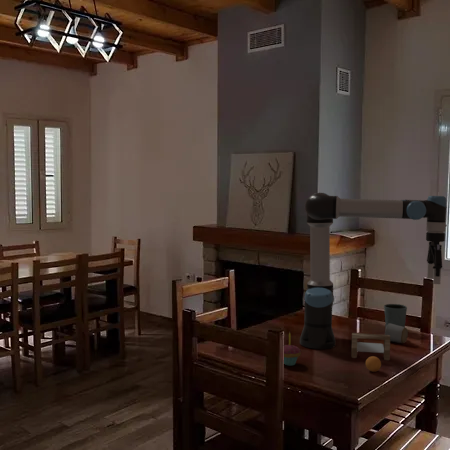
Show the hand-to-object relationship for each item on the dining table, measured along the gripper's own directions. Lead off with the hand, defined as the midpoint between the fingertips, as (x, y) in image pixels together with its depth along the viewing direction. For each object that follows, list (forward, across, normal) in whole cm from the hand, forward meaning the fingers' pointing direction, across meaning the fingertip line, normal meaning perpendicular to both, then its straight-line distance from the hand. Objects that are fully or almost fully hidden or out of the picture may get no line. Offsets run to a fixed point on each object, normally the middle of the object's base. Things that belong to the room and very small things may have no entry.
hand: (433, 281), depth 233 cm
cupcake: (+28, -40, +58) cm, 76 cm away
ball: (+25, -42, +28) cm, 56 cm away
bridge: (+28, -26, +27) cm, 47 cm away
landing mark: (+28, -12, +27) cm, 40 cm away
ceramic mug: (+28, +2, +14) cm, 31 cm away
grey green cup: (+28, +18, +13) cm, 36 cm away
